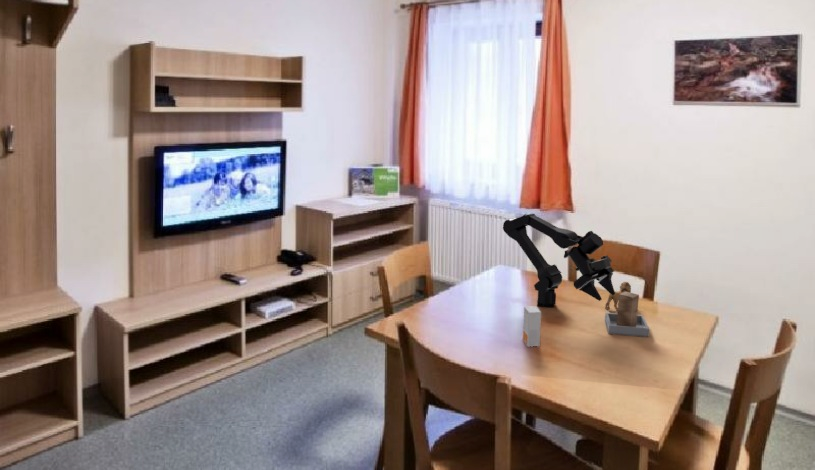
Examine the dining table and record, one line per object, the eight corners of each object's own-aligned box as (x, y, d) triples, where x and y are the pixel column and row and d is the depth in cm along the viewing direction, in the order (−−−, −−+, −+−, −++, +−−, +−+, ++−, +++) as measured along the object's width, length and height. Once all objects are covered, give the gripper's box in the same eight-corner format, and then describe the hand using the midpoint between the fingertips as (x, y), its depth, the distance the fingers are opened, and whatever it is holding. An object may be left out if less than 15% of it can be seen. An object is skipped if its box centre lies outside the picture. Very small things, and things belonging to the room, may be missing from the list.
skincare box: (522, 339, 207) (523, 305, 204) (534, 339, 207) (536, 305, 204) (527, 347, 201) (528, 312, 198) (539, 346, 201) (541, 312, 198)
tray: (608, 333, 212) (609, 325, 211) (604, 320, 224) (605, 312, 224) (648, 337, 209) (649, 328, 209) (642, 323, 222) (643, 315, 221)
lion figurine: (619, 301, 245) (621, 279, 243) (632, 304, 242) (634, 282, 240) (602, 310, 235) (603, 287, 233) (615, 313, 231) (617, 290, 229)
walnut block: (616, 326, 217) (619, 294, 214) (622, 323, 220) (625, 291, 217) (629, 330, 213) (632, 297, 211) (635, 327, 216) (639, 294, 214)
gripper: (583, 253, 214) (609, 291, 209) (611, 244, 226) (636, 280, 221) (562, 270, 221) (587, 307, 216) (590, 261, 234) (614, 295, 229)
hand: (607, 297), depth 220 cm, fingers open, 9 cm apart
